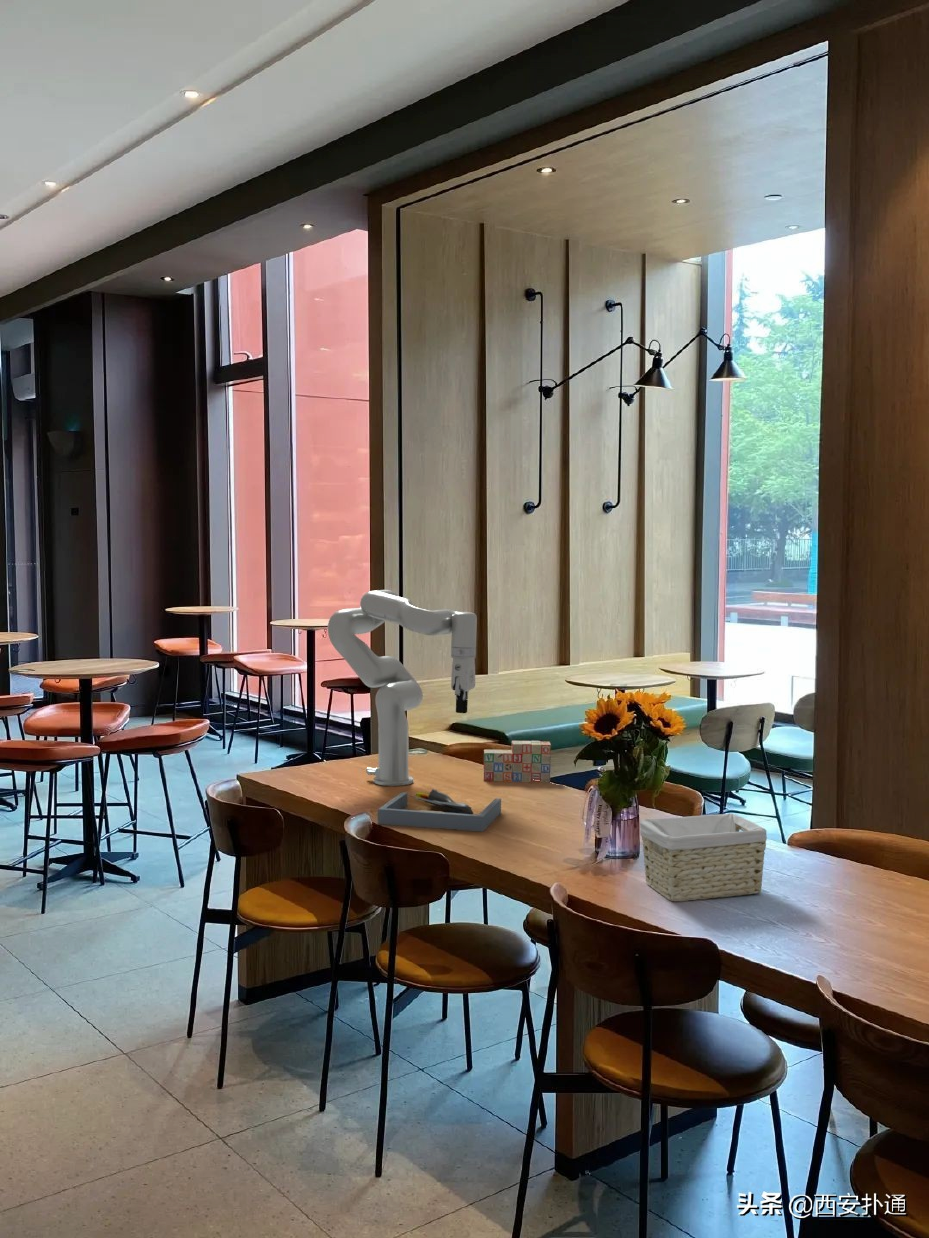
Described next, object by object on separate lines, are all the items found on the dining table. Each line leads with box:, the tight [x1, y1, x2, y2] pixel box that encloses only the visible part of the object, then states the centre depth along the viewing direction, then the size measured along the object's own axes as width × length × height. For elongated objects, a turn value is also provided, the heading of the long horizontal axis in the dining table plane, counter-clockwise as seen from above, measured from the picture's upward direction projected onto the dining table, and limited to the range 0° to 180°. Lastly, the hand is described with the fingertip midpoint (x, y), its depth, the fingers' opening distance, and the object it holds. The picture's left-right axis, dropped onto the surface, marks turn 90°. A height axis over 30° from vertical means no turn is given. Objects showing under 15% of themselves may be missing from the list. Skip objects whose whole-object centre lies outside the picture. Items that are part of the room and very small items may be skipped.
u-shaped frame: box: [377, 791, 502, 832], centre depth 303 cm, size 29×21×4 cm
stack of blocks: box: [483, 740, 552, 783], centre depth 353 cm, size 21×6×12 cm, turn 89°
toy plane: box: [410, 788, 474, 814], centre depth 313 cm, size 25×17×5 cm
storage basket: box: [639, 812, 767, 902], centre depth 241 cm, size 24×16×15 cm
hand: (461, 712), depth 334 cm, fingers closed
